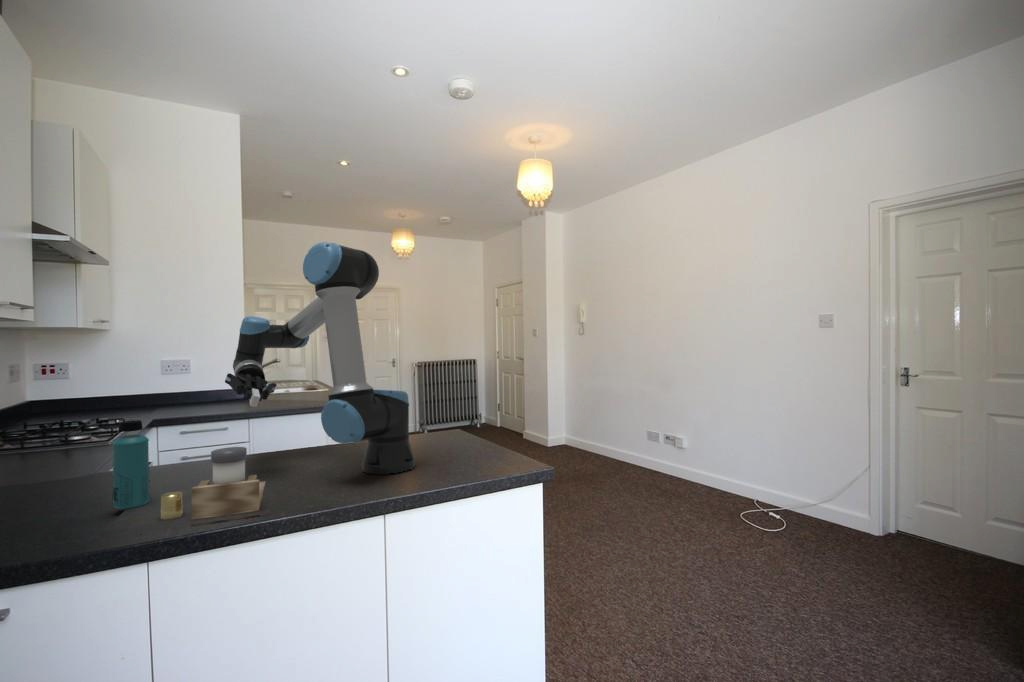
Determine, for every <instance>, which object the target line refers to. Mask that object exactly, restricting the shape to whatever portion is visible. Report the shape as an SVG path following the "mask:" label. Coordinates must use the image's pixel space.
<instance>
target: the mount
mask: <svg viewBox="0 0 1024 682" xmlns="http://www.w3.org/2000/svg"><path fill="white" fill-rule="evenodd" d="M257 475H258V474H253V475H248V478H247V480H245V481H241V482H232V483H223V484H214V485H213V484H211V479H207V480H205V479H204V480H201V481H200V482H199V484H198V485H197V486H192V487H191V496H190V497H191V520H197V519H198V520H199V519H205V518H206V519H208V518H213V517H214V518H215V517H221V516H229V515H235V514H236V515H237V514H243V513H244V514H245V513H251V512H259V511H260V507H261V504H262V498H263V494H264V490H265V486H266V480H264V481H260V479H257V478H258V476H257ZM255 517H260V514H256V515H251V516H242V517H241V516H240V517H235V518H228V519H220V520H213V521H205V522H199V523H192V524H190V526H191V527H190V528H193V527H201V526H208V525H214V524H222V522H223V523H229V521H230V522H236V521H235V520H237V521H241V520H240V519H245V520H249V519H248V518H252V519H256V518H255Z"/></svg>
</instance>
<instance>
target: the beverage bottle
mask: <svg viewBox="0 0 1024 682" xmlns="http://www.w3.org/2000/svg"><path fill="white" fill-rule="evenodd" d="M118 425H119V426H118V432H120V433H123V432H124V433H128V432H137V431H141V430H143V422H142V420H139V419H131V420H123V421H120V422H119V424H118ZM149 441H150V439H149V438H148V437H147V436H145V435H144V434H129V435H123V436H119V437H117V438H116V439H115V440H114V441H113V442H112V476H111V477H112V484H113V485H112V498H111V499H112V505H113V508H114V509H115V510H116V509H117V510H124V509H125V510H126V509H131V508H132V509H133V508H138V507H141V506H144V505H146V504H148V503H149V502H150V496H151V493H150V481H151V480H150V473H151V472H150V463H149V459H150V457H149V456H150V455H149V453H150V451H149Z"/></svg>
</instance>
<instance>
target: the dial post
mask: <svg viewBox="0 0 1024 682" xmlns="http://www.w3.org/2000/svg"><path fill="white" fill-rule="evenodd" d="M182 516H183V492H182V491H169V492H166V493H163V494H161V495H160V519H161V520H173V519H178V518H180V517H182Z"/></svg>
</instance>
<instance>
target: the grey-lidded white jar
mask: <svg viewBox="0 0 1024 682" xmlns="http://www.w3.org/2000/svg"><path fill="white" fill-rule="evenodd" d="M247 453H248V451H247V447H245V446H233V447H232V446H231V447H223V448H218V449H213V450H212V451H210V462H211V463H212V485H214V484H223V483H232V482H241V481H246V459H247V455H248V454H247Z"/></svg>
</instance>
